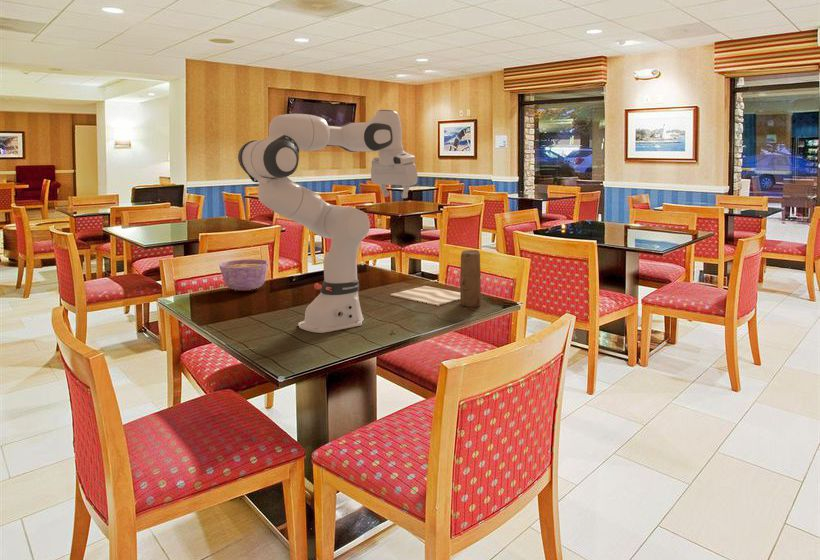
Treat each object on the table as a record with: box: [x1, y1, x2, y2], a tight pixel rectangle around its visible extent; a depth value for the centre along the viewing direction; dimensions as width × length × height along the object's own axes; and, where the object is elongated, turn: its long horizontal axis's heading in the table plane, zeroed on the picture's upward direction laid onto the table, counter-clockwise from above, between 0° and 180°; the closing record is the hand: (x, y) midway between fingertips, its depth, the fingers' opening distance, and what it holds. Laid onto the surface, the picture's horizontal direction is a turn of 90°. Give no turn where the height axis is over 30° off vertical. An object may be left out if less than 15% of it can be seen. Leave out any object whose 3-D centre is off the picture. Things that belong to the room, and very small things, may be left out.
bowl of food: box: [219, 258, 269, 291], centre depth 259 cm, size 20×20×12 cm
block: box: [459, 249, 482, 308], centre depth 227 cm, size 11×8×20 cm
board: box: [390, 285, 461, 307], centre depth 243 cm, size 20×26×1 cm
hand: (395, 197), depth 218 cm, fingers open, 8 cm apart
